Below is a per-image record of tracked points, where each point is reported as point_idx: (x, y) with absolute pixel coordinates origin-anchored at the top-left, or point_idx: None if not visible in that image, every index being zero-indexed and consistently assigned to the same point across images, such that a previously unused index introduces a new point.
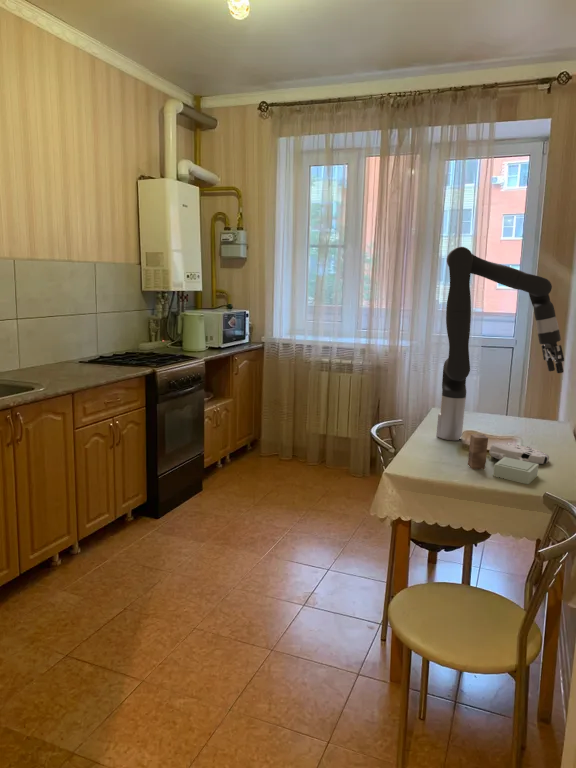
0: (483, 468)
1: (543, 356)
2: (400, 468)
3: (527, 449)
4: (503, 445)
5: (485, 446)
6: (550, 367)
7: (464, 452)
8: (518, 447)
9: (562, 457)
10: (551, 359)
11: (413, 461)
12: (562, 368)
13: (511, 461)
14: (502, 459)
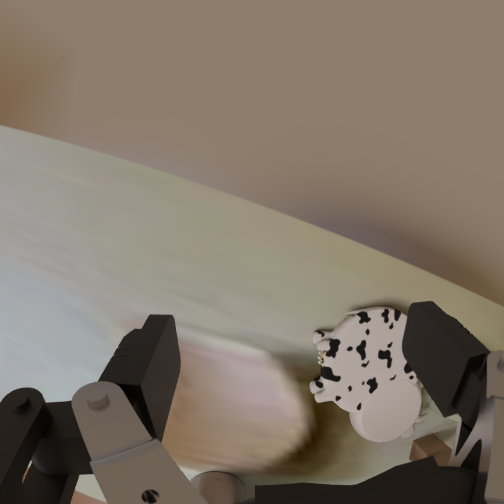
0: (433, 435)
1: (41, 488)
2: None
3: (366, 359)
4: (374, 419)
5: None
6: (171, 375)
7: (336, 470)
8: (361, 381)
9: (335, 252)
10: (127, 421)
11: None
12: (462, 326)
13: None
14: (452, 417)
